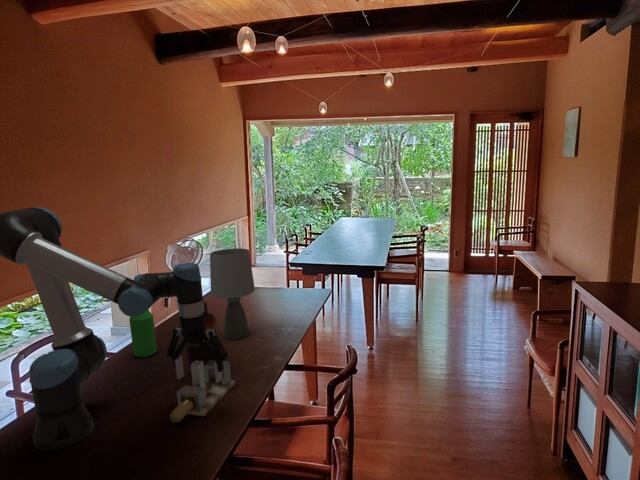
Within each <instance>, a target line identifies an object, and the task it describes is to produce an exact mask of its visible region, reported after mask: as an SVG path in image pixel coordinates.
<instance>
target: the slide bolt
mask: <svg viewBox="0 0 640 480" xmlns="http://www.w3.org/2000/svg"><path fill="white" fill-rule="evenodd" d="M190 373H191V382H192V386H194V387H203V388H205V390H206V397H207V394H208V393H209V392H210V391H211V390H212V385H211V383H210V382H207V381H206V380H205V375H204V364H203V361H195V362H193V363H192V364H191V370H190ZM205 381H206V382H205ZM195 406H196V402H195V397H191V396H188V397H187V398H186V399H185V400H184V401H183V402H182V403H181V404H180V405H178V404H177V406H176V407H175V408H174V409H173V410H172V411H171V412H169V419H170V422H172V423H175V424H178V423H180V422H181V421H182V420H183V419H184V418H185V416H187V415H189V414H188V413H189V412H190V411H191V410H192V409H193V408H194V407H195Z"/></svg>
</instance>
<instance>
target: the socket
mask: <svg viewBox="0 0 640 480" xmlns="http://www.w3.org/2000/svg"><path fill="white" fill-rule="evenodd" d="M214 362H215V360H210V361H208V362H207V363H206V364H205V365H204V370H205V381H207V382H210V383H211V382H212V381H216V378H215V370H214ZM230 363H231V362H230V361H226V360H224V361H223V370H222V380H221V381H222V386H226V385H227V384H228V383H229V382H230V381H232V374H231V364H230Z"/></svg>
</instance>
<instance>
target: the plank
mask: <svg viewBox="0 0 640 480" xmlns="http://www.w3.org/2000/svg"><path fill="white" fill-rule="evenodd" d="M205 382H206V380H205ZM211 385H212V390H211V391H210V392H209V393H208V394H207V397H206V401H207V406H206V407H205V408H204V409H203V410H202V411H201V412H196V406H195V407H194V408H193V409H192V410H191V411H190V412H189V413H188V414H187V415H191V416H199V417H205V416H206V415H207V414H209V412H210V411H211V410H212V409H213V408H214V407H215V406H216V405H217V404H218V403H219V402H220V400H222V398H223V397H224V396H225V395H226V394H227V393H229V391H230V390H231V389H232V388H233V387H234V386H235V385H236V382H235V380H231V381H230V382H229V383H228V384H227V385H226V386H222V381H220V382H219V383H216V381H212V382H211Z"/></svg>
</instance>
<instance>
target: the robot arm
mask: <svg viewBox="0 0 640 480" xmlns="http://www.w3.org/2000/svg"><path fill="white" fill-rule="evenodd" d="M62 232H63V225H62V222H61V219H60V218H59V216H58V215H57V214H56V213H54V212H53V211H52V210H50V209H47V208H45V207H41V206H40V207H35V206H34V207H33V206H32V207H26V208H22V209H21V208H20V209H16V210H11V211H4V212H0V256H1V257H2V258H4V259H7V260H8V261H11V262H13V263H15V264H17V265H19V266H20V265H25V264H26V266H27V269H28V272H29V274H30V276H31V280H32V282H33V285H34V287H35V290H36V292H37V295H38V298H39V301H40V304H41V305H42V308H43V311H44V313H45V317H46V319H47V321H48V325H49V326H50V329H51V332H52V335H53V337H54V339H53V341H52V343H51V348H52V350H51V351H49V352H47V353H43V354H42V355H40V356H38V357H37V358H36V359H34V360H33V361H32V363H31V365H30V366H29V370H28V371H29V379H28V380H29V383H30V386H31V391H32V398H33V403H34V404H33V405H34V409H35V415H36V418H35V425H34V430H33V432H32V443H33V446H34V448H35V449H37V450H40V451H44V452H46V451H47V452H49V451H50V452H51V451H57V450H62V449H66V448H69V447H71V446H74V445H76V444H78V443H80V442H81V441H83V440H85V439H86V438H87V437H88V436H89V435H91V434H92V432H93V431H94V427H95V425H94V420H93V419H94V418H93V416H92V415H91V413H90V411H89V410H88V408H87V407H86V405H85V403H84V398H83V390H82V386H83V385H84V384H85V383H86V382H87V381H88V380H89V379H90V378H91V377H92V376H93V375H94V374H96V373H97V372H99V370H100V369H101V367H102V366H103V364H104V363H105V361H106V358H107V354H108V353H107V352H108V350H107V345H106V344H105V342H104V340H103V339H102V338H101V337H98V335H96V334H95V333H94V331H93V329H92V328H90V327H87V326H86V325H85V323H84V320H83V317H82V315H81V312H80V308H79V306H78V303H77V301H76V298H75V295H74V293H73V290H72V286H71V285H70V284H72V285H74V286H76V287H79V288H81V289H84V290H85V291H88V292H90V293H93V294H95V295H97V296H99V297H100V298H101V297H102V298H103V299H106V300H108V301H110V302H113V303H114V304H117V306H118V308H119V311H121V312H122V314H123V315H125V316H127V317H130V316H131V317H135V316H139V315H141V314H143V313H144V312H146V311H147V310H149V309H151V307H152V306H153V305H154V304H155V303H157V302H158V301H159V300H160V299H161V298H173V297H176V299H177V300H176V302H177V309H178V316H179V324H180V325H179V326H177V327H175V328H174V329H173V330H172V337H171V340H170V343H169V346H168V348H167V352H166V357H168V358H172V359H171V360H172V362H173V368H174V369H175V370H176V371H175V372H176V378H177V380H180V379H182V378H183V377H184V376H185V370H184V361H183V356H182V355H181V353H182V352H183V351H184V349H185V348H186V345H187V344H188V343H189V344H200V345H201V346H203V347H204V348H205V349H206V350H207V352H208V353H209V354H210V355H211V356H212V357H213V358H214V360H215V362H214V370H215V378H216V383H219V382H220V381H221V380H222V370H223V361H226V360H227V359H228V358H229V354H228V352H227V351H226V349H225V347H224V345H223V344H222V342H221V340H220V338H219V337H218V336H217V335H218V332H217V333H216V329H212V330H207V329H206V319H205V313H204V302H203V301H204V296H203V287H202V286H203V285H202V276H201V272H200V266H199V265H198V264H197V263H194V262H187V263H179V264H175V265H174V267H173V271H168V272H153V273H152V272H151V273H149V272H147V273H141V274H136V275H135V276H134V277H133V279H132V278H130V277H128V276H125V275H123V274H121V273H119V272H117V271H115V270H112V269H110V268H108V267H106V266H104V265H102V264H99V263H97V262H95V261H94V260H91V259H88V258H86V257H84V256H82V255H80V254H78V253H76V252H74V251H71V250H69V249H67V248H64V247H63V246H62V243H61V240H60V237H61V234H63V233H62ZM149 311H150V310H149ZM206 335H208V337H207V336H206ZM181 336H182V337H183V339H182V341H180V344H179V346H178V343H179V340H180V337H181ZM209 338H210V340H209ZM203 340H205V341H204V342H203ZM210 341H211V342H210ZM177 346H178V347H177Z"/></svg>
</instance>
